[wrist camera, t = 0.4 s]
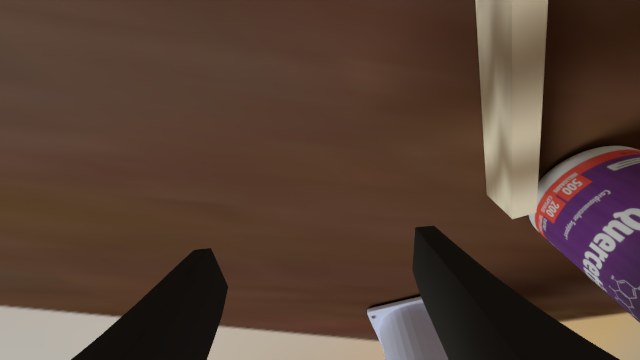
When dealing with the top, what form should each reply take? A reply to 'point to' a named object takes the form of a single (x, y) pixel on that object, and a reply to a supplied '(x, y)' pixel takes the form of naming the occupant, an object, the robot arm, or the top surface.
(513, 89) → the cradle
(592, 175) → the pill bottle
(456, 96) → the top surface
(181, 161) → the top surface
